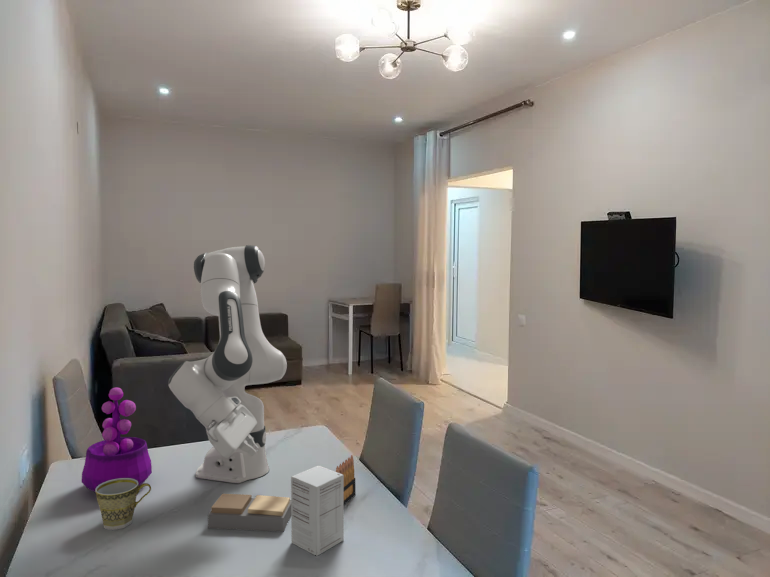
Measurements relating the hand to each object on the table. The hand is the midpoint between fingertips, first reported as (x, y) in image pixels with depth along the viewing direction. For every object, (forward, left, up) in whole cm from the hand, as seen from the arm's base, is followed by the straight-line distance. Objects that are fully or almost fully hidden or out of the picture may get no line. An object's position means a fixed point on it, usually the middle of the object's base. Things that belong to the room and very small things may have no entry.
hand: (255, 452), depth 144 cm
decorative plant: (-46, +15, -18) cm, 52 cm away
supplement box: (+18, -10, -18) cm, 27 cm away
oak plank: (+4, -1, -14) cm, 15 cm away
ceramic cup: (-33, -5, -18) cm, 38 cm away
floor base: (-1, -1, -18) cm, 18 cm away
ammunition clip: (+22, +12, -18) cm, 31 cm away
